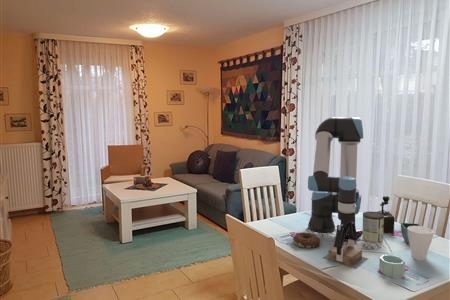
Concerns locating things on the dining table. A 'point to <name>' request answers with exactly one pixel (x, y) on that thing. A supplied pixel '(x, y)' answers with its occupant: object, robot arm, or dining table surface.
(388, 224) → the coffee grinder
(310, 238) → the donut
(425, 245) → the cup
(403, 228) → the flower pot
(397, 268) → the bowl
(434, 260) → the dining table surface
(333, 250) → the board
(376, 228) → the coffee can
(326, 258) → the mat
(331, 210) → the robot arm
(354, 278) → the dining table surface
